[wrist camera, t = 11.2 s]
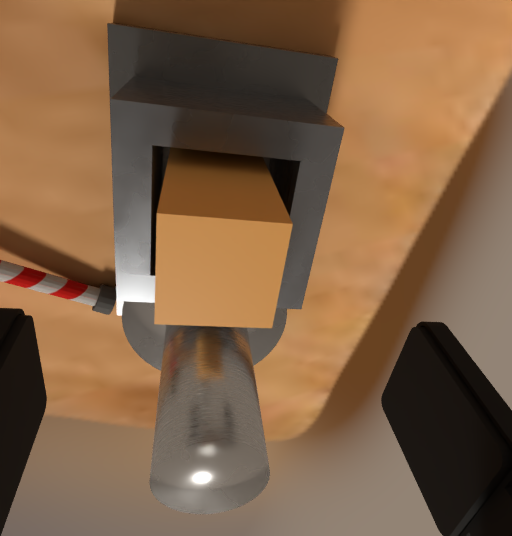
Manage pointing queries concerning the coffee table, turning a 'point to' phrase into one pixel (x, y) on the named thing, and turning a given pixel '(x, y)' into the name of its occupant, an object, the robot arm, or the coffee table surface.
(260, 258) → the orange rectangular block
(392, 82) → the coffee table surface
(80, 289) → the toy hammer
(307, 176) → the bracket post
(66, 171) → the coffee table surface
